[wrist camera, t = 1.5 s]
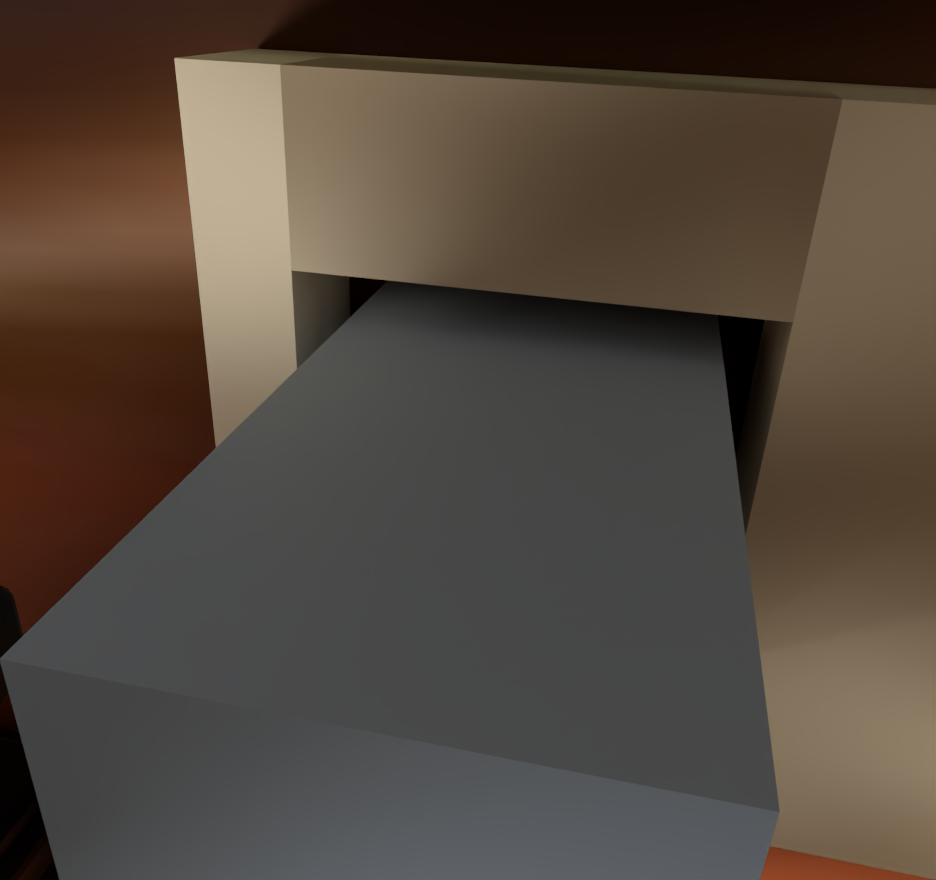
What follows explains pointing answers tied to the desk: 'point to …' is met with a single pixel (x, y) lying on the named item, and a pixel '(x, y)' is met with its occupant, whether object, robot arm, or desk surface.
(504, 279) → the board
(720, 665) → the block
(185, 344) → the desk surface
